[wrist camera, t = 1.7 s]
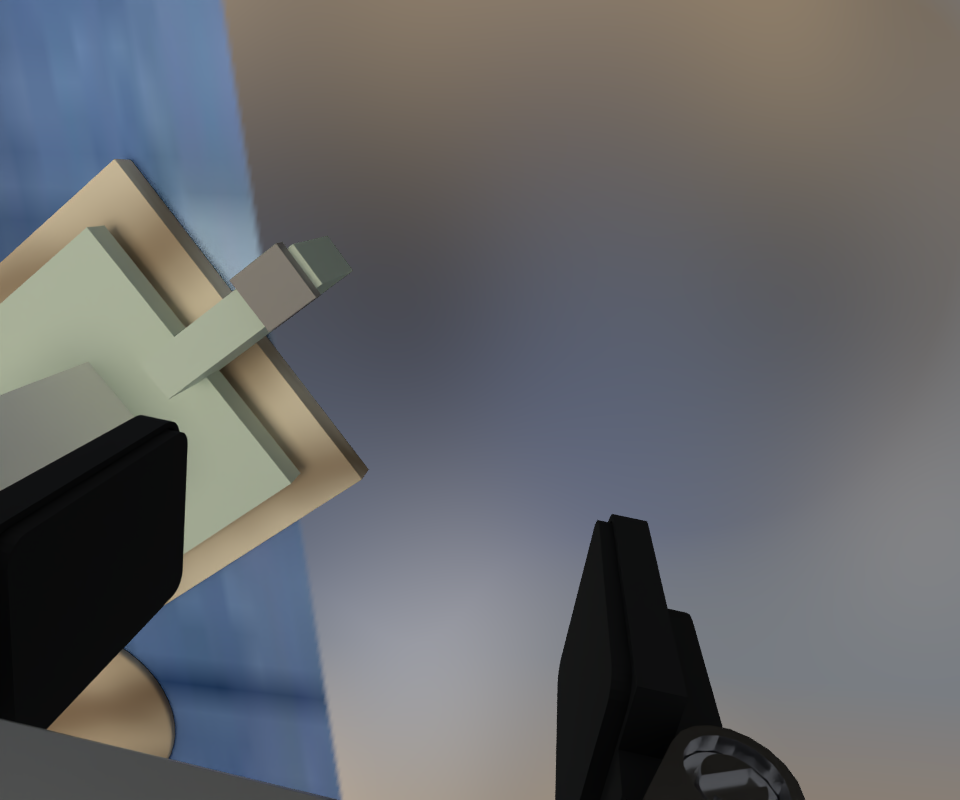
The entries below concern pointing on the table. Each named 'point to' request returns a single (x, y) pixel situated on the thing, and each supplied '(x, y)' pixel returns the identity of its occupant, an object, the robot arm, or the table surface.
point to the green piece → (169, 356)
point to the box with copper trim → (54, 420)
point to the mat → (122, 710)
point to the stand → (253, 374)
